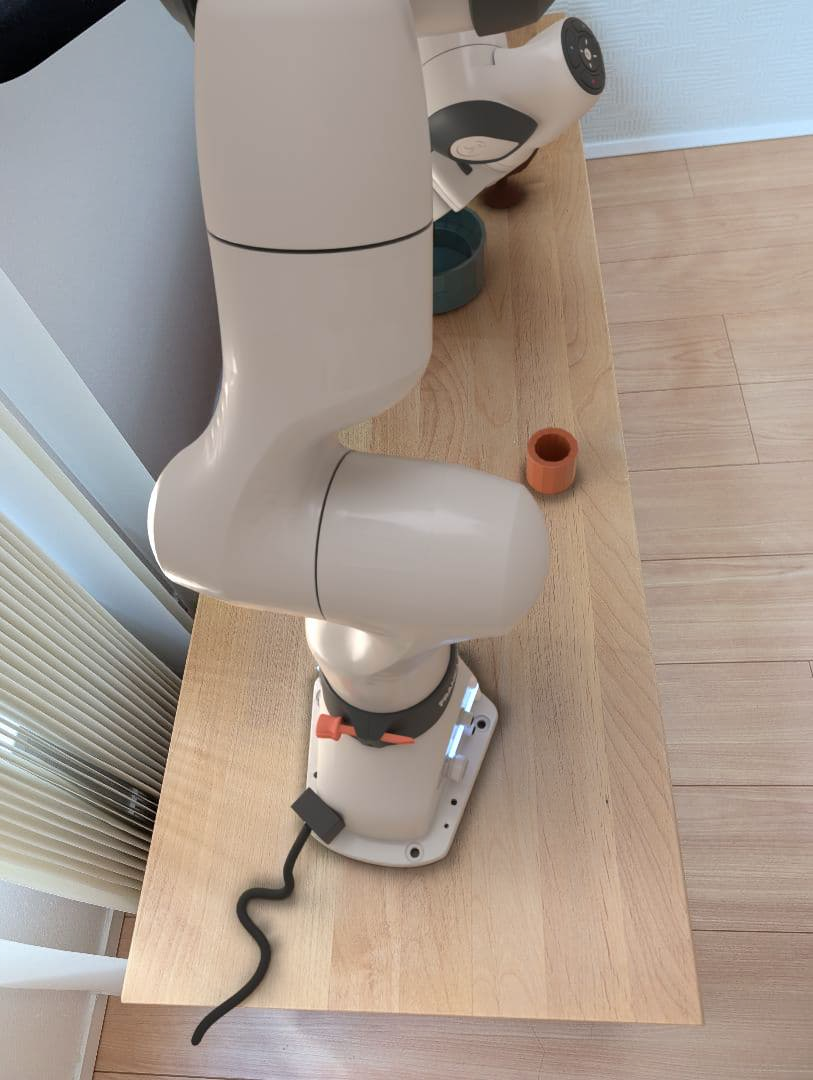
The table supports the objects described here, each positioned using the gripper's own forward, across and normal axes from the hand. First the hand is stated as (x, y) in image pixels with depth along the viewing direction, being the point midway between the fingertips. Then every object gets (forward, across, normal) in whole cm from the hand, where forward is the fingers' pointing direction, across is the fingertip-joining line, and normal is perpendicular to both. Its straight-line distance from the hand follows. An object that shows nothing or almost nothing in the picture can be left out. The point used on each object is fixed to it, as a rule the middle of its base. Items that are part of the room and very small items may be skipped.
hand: (418, 192), depth 97 cm
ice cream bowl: (+9, -19, +10) cm, 24 cm away
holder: (-12, +22, +31) cm, 40 cm away
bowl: (+9, 0, +10) cm, 13 cm away
